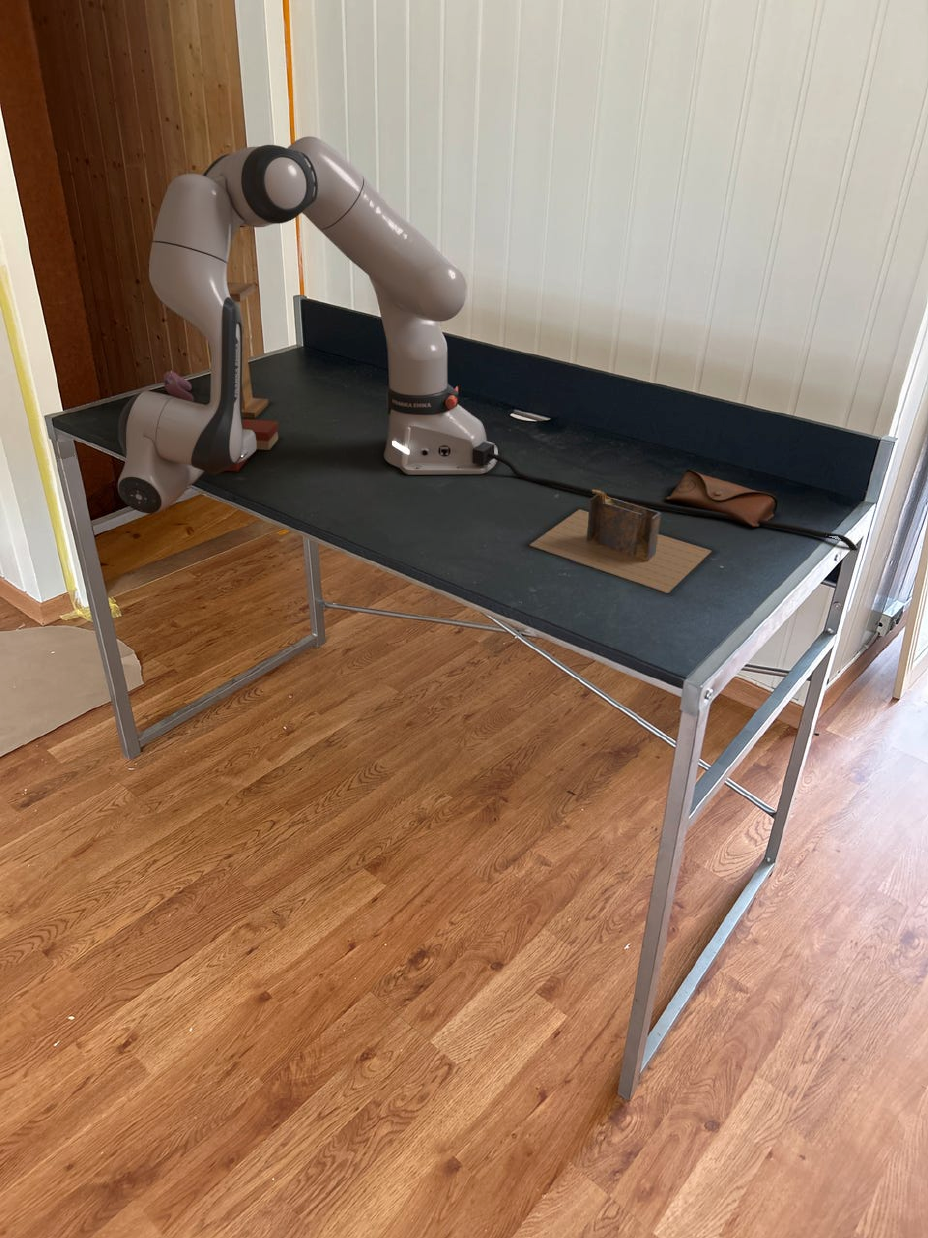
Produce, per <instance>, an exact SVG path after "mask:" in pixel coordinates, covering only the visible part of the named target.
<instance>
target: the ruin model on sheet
mask: <svg viewBox="0 0 928 1238" xmlns="http://www.w3.org/2000/svg"><path fill="white" fill-rule="evenodd" d="M590 489H591V488H590ZM591 491H592V493H594V494H597V495H593V497H591V498H590V499H589V509H588V511H586V510H583V509H581V508H580V509H578V510H576V511H575V512H573V513H572V514H571V515H569V516H568V517H566V518H565V519H564V520H562V521H561V522H560V523H558V524H557V525H555V526H554V527H552V528H551V529H550V530H548V531H547V532H545V533H544V534H543V535H541V536H540V537H539V538H537V539H536V540H535V541H533V542H532V543H530V544H529V546H530V547H533V548H536V549H539V550H541V551H545V552H547V553H550V554H553V555H555V556H559V557H562V558H565V559H568V560H571V561H573V562H576V563H579V564H583V565H585V566H588V567H591V568H592V569H593V568H594V569H596V570H600V571H603V572H606V573H608V574H610V575H614V576H617V577H620V578H623V579H624V580H625V579H626V580H628V581H630V582H634V583H637V584H641V585H643V586H646V587H649V588H652V589H655V590H657V591H660V592H663V593H666V594H669V593H670V592H671V591H672V590H673V589H674V588H675V587H676V586H677V585H679V583H680V582H682V581H683V579H685V577H686V576H688V575H689V573H691V572H692V571H693V570H694V569H695V568H696V567H697V566H698V565H699V564H700V563H701V562H703V560H704V559H705V558H707V556H709V555H710V553H712V550H711V549H707V548H704V547H701V546H699V545H695V544H692V543H688V542H685V541H682V540H678V539H676V538H673V537H669V536H666V535H663V534H659V530H660V525H661V516H662V512H661V511H657V510H654V509H651V508H648V507H645V506H642V505H639V504H634V503H628V502H624V501H621V500H618V499H614V498H611V497H608V496H607V495H606V493H607V492H605V491H602V490H600V489H594V488H593V489H591Z"/></svg>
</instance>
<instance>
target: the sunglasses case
mask: <svg viewBox="0 0 928 1238" xmlns="http://www.w3.org/2000/svg"><path fill="white" fill-rule="evenodd" d="M665 500H667V501H670V502H674V503H678V504H682V505H684V506H686V507H689V508H694V509H701V510H707V511H714V512H720V513H725V514H728V515H730V516H731V517H733V519H734V520H730V519H727V521H731V522H734V523H738V524H742V525H746V526H749V527H753V528H758V527H760V526H761V525H760V524H758V520H759V519H761V520H767V521H771V519H772V518H774V517H775V515H776V512H777V510H778V505H779V504H778V499H777V497H776V496H774V495H773V494H771V493H768V492H765V491H757V490H755V489H751V488H749V487H745V486H742V485H739V484H736V483H732V482H730V481H727V480H724V479H720V478H716V477H713V476H709V475H705V474H703V473H700V472H697V471H695V470H693V469H687V470H686V471H685V474H684V475H683V476H682V478H681V479H680V480H679V482H678V484H677V485H676V486H675V488H674V490H673V491H672V492H671V494H670V495H669V496H667V497H665Z"/></svg>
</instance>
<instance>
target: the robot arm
mask: <svg viewBox="0 0 928 1238" xmlns="http://www.w3.org/2000/svg"><path fill="white" fill-rule="evenodd" d="M301 214H302V215H304V216H305V217H306V218H307V219H308V220H309V221H310V223H311V224H312V225H314V227H316V228H317V230H318V231H320V232H321V233H322V234H323V235H324V236H325V237H326V238H327V239H328V241H330V243H332V244H333V245H334V246H335V247H336V248H337V249H338V250H339V251H340V252H341V253H342V254H343V255H344V256H345V257H346V258H347V259H348V260H349V261H350V262H352V263H353V264H354V265H355V266H357V267H358V268H359V269H360V270H362V271H363V272H364V274H366V275H367V276H368V278H369V281H370V282H371V285H372V287H373V290H374V292H375V295H376V300H377V304H378V309H379V314H380V319H381V322H382V326H383V331H384V336H385V341H386V348H387V349H386V350H387V351H386V352H387V366H388V368H387V369H388V384H387V387H386V407H387V408H386V409H387V415H388V417H389V418H388V431H387V437H386V438H387V439H386V445H385V449H384V452H383V458H384V460H385V461H386V462H387V463H388V464H389V465H392V466H395V467H396V468H399V469H400V470H401V472H403V473H404V474H406V475H410V476H411V475H412V476H415V475H416V476H417V475H418V476H419V475H424V476H425V475H483V474H485V473H488V472H489V471H491V470H493V468H494V467H495V466H496V464H497V462H500V463H502V464H504V465H506V466H507V467H508V468H509V469H510V470H511V472H512V473H513V474H514V475H515V476H517V477H519V478H521V479H523V480H525V481H529V482H533V483H537V484H544V485H550V486H554V487H558V488H561V489H565V490H570V491H573V492H578V493H582V494H586V495H591V496H595V495H597V494H594V493H592V491H591V488H587V487H581V486H577V485H574V484H569V483H566V482H562V481H558V480H553V479H548V478H541V477H536V476H531V475H528V474H526V473H524V472H522V471H520V470H519V469H518V467H516V466H515V464H514V463H513V462H512V461H510V460H509V459H508V458H505V457H503V456H501V455H499V449H498V447H497V446H496V445H495V443H494V442H491V441H488V439H487V432H486V429H485V426H484V424H483V422H482V421H481V420H480V419H479V418H477V417H476V416H474V415H473V414H471V412H469V411H468V410H467V409H465V408H464V407H462V406H461V405H460V404H459V386H458V385H457V386H456V387H455V388H454V387H453V386H451V384H449V382H448V345H447V344H448V343H447V340H446V338H445V336H444V334H443V331H442V327H441V325H440V323H441V322H446V321H447V322H448V321H449V320H451V319H453V318H454V317H456V316H457V315H458V314H459V313H460V312H461V311H462V309H463V307H464V305H465V303H466V300H467V296H468V284H467V280H466V278H465V276H464V274H463V273H462V272H461V270H460V269H459V268H458V267H457V266H456V265H455V264H454V262H452V261H451V260H449V258H448V257H447V256H446V255H445V254H443V253H442V252H441V250H439V248H437V246H435V245H434V244H433V243H432V242H431V241H430V240H429V239H428V238H426V237H425V236H424V234H423V233H421V232H420V231H419V230H418V229H417V228H415V227H414V226H413V225H412V224H411V223H410V222H409V221H408V220H406V219H405V218H404V217H403V216H402V215H401V214H400V213H399V212H398V211H396V210H395V209H394V208H393V207H392V206H391V205H390V203H389V202H387V199H385V198H384V197H383V196H382V195H381V194H380V193H379V192H378V191H377V189H375V188H374V186H373V185H372V184H371V183H370V182H369V181H368V180H367V179H366V178H365V176H363V175H362V174H361V173H360V172H359V170H358V169H357V168H356V167H354V165H352V163H351V162H349V161H348V159H346V157H344V156H342V154H341V153H339V152H338V151H337V150H335V149H334V148H333V147H332V146H330V145H329V144H328V143H326V142H325V141H323V140H322V139H320V138H318V137H316V136H311V135H310V136H309V135H308V136H303V137H300V138H298V139H296V140H295V141H293V142H292V143H291V144H290V145H289V146H288V147H284V146H281V145H277V144H264V145H261V146H247V147H243V148H240V149H237V150H236V151H234V152H232V153H227V154H223V155H221V156H219V157H218V158H217V159H215V160H214V161H213V162H212V163H211V164H210V165H209V166H208V167H207V169H206V170H205V171H204V172H203V173H202V174H198V173H185V174H181V175H178V176H176V177H175V178H173V179H172V180H171V182H170V183H169V185H168V188H167V190H166V191H165V195H164V198H163V199H162V203H161V206H160V209H159V212H158V216H157V219H156V223H155V228H154V232H153V237H152V243H151V249H150V254H149V262H148V278H149V282H150V285H151V287H152V290H153V291H154V293H155V294H156V296H157V297H158V298H159V300H160V301H161V302H162V303H163V304H164V305H165V306H166V307H167V308H168V309H169V310H171V312H173V313H175V314H176V315H178V316H179V317H181V318H182V319H183V320H184V321H186V322H188V323H189V324H190V325H192V326H193V327H194V328H196V329H197V330H198V331H199V332H200V333H201V334H202V336H203V337H204V338H205V339H206V341H207V344H208V343H209V346H210V350H211V361H210V397H209V398H210V399H209V402H210V403H209V402H208V403H209V404H208V403H207V404H208V405H207V404H202V403H200V402H195V401H193V402H191V401H187V400H183V399H178V398H176V397H173V396H171V395H170V394H169V395H168V394H164V393H161V392H155V391H150V390H146V389H145V390H142V391H140V392H138V393H136V394H135V395H134V396H132V397H131V398H130V399H129V401H127V403H126V404H125V405H124V406H123V408H122V410H121V412H120V414H119V417H118V422H117V436H118V442H119V445H120V447H121V450H122V453H123V455H124V458H125V461H124V466H123V469H122V471H121V473H120V476H119V478H118V481H117V492H118V495H119V496H120V498H121V500H122V501H123V502H124V503H125V504H126V505H127V506H128V507H130V508H131V509H133V510H135V511H137V512H140V513H142V514H148V515H149V514H150V515H152V514H153V515H154V514H158V513H161V512H163V511H165V510H166V509H168V508H169V507H171V506H172V505H173V504H174V503H176V502H177V501H178V500H179V499H180V498H181V497H182V496H184V494H185V492H186V491H187V489H188V487H190V486H192V485H193V484H195V482H196V481H198V479H199V478H200V477H201V476H202V475H203V474H204V473H206V472H207V473H209V474H212V475H217V474H220V473H222V472H225V470H227V469H229V468H230V467H232V466H233V465H235V464H236V463H239V462H242V461H243V460H245V459H246V458H248V457H249V456H250V455H251V456H253V454H254V453H255V452H256V451H257V450H258V449H257V442H256V436H255V433H254V432H253V431H252V430H247V429H243V422H242V419H243V417H242V406H241V404H242V319H241V313H240V309H239V306H238V304H237V303H236V302H235V301H233V300H232V299H231V297H230V294H229V291H228V287H227V282H228V280H227V271H228V263H229V258H230V251H231V243H232V242H233V239H234V236H235V235H236V232H237V231H238V230H239V228H246V227H247V228H265V227H269V226H271V225H275V224H277V225H278V224H279V225H281V224H284V223H288V222H291V221H292V220H295V218H297V217H298V216H300V215H301ZM251 456H250V457H251ZM250 457H249V458H250ZM605 493H606V495H607V496H608V497H611V498H614V499H618V500H621V501H624V502H628V503H631V504H634V505H638V506H644V507H651V508H657V509H663V510H668V511H675V512H680V513H686V514H693V515H699V516H706V517H712V518H717V519H724V520H728V519H730V520H729V521H731V520H734V519H733V517H731V516H730V515H728V514H725V513H720V512H714V511H707V510H701V509H696V508H693V507H689V506H682V505H676V504H670V503H663V502H658V501H657V502H656V501H652V500H646V499H640V498H636V497H635V498H634V497H629V496H624V495H619V494H614V493H610V492H605ZM758 524H760V526H765V527H769V528H775V529H776V528H777V529H781V530H787V531H792V532H797V533H801V534H806V535H810V536H814V537H818V538H823V539H829V540H830V539H831V540H837V541H840V542H842V543H844V544H845V545H846V546H847V547H848V548H849V549H850V550H851V551H854V552H856V551H858V548H857V546H856V544H855V543H854V542H853V541H852V540H851V539H850V538H849V537H846V536H845V535H842V534H838V533H834V532H826V531H819V530H816V529H812V528H807V527H803V526H798V525H794V524H793V525H792V524H787V523H782V522H776V521H771V520H768V521H767V520H761V519H759V520H758ZM826 535H827V536H826ZM829 536H838V537H839V538H840V539H841V540H838V539H835V538H832V537H829ZM813 736H815V737H819V736H820V733H816V732H814V733H813Z"/></svg>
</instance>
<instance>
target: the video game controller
mask: <svg viewBox="0 0 928 1238" xmlns="http://www.w3.org/2000/svg"><path fill="white" fill-rule="evenodd" d="M162 377H163V386H164V388H165V390H166V392H167V393H168V394H169V396H173V397H176V398H178V399H183V400H187V401H191V402H195V398H194V396H193V394H192V393H190V391H191V390H192V387H193V386H192V384H191V383H190V382H189V380H186V379H184V378H182V377H181V376H179V375H178V374H177V373H176V372H173V371H172V370H170V371H166V372H165V373H163V375H162Z"/></svg>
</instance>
